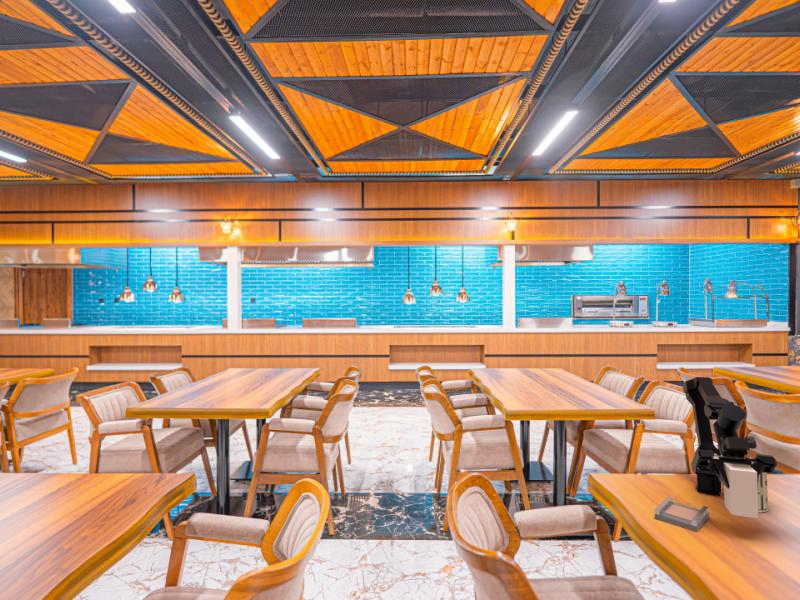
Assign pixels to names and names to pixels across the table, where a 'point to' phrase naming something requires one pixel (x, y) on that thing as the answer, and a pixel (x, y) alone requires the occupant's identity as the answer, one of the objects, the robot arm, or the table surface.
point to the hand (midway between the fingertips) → (742, 489)
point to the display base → (681, 514)
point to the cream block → (741, 490)
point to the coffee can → (762, 493)
